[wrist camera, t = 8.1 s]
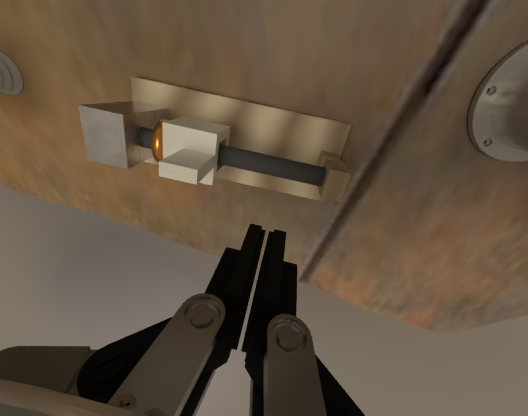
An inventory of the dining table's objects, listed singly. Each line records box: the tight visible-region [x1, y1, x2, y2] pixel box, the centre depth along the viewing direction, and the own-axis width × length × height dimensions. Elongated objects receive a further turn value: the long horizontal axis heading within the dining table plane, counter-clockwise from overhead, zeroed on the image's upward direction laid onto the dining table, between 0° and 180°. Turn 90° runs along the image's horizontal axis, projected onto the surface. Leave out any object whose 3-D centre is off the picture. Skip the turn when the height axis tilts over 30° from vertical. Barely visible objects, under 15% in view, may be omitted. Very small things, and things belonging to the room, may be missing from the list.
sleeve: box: [159, 117, 230, 185], centre depth 22 cm, size 5×5×10 cm
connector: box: [78, 101, 169, 169], centre depth 25 cm, size 7×5×8 cm
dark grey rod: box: [138, 127, 326, 187], centre depth 24 cm, size 21×2×2 cm, turn 79°
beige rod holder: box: [131, 77, 352, 202], centre depth 26 cm, size 26×10×9 cm, turn 79°
